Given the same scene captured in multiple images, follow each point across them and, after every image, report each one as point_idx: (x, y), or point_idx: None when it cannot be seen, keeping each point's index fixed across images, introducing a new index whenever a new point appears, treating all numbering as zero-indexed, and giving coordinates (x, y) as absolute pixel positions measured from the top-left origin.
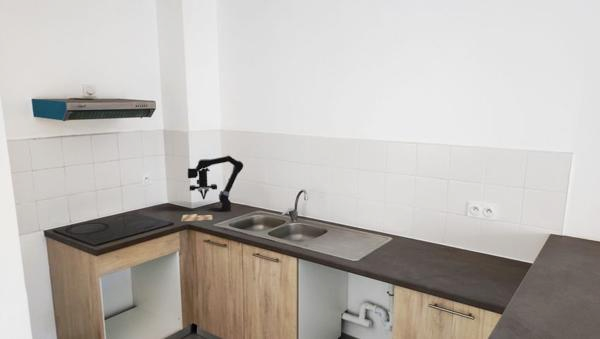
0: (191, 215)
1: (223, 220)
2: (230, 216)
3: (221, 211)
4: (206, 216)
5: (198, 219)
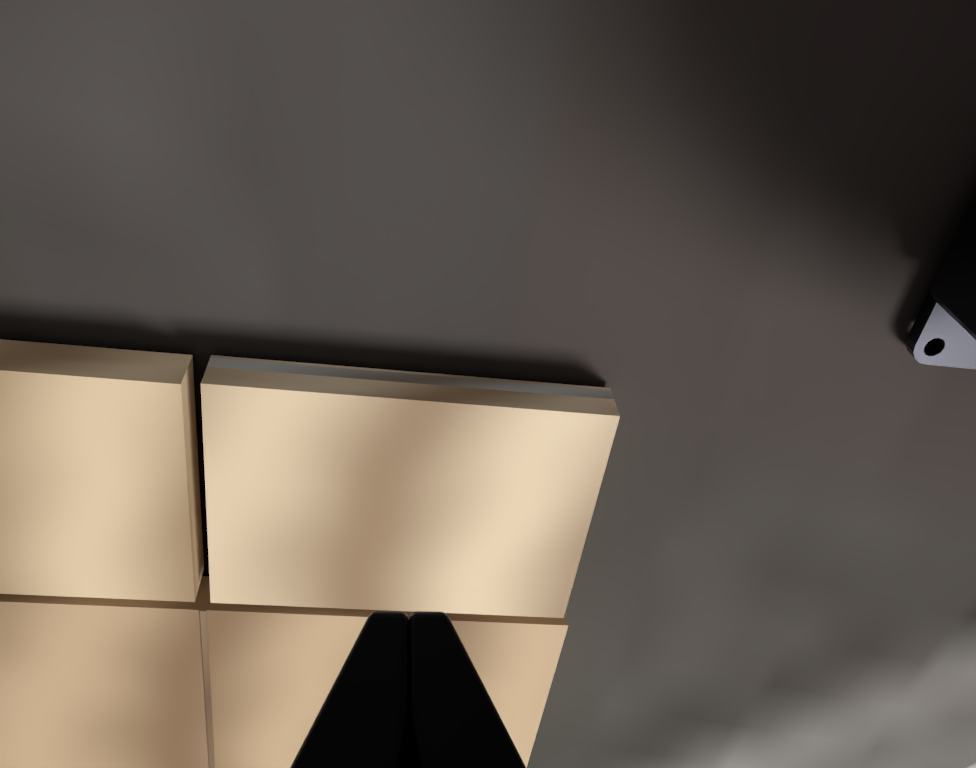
0: (12, 458)
1: (728, 730)
2: (971, 560)
3: (948, 311)
4: (433, 610)
5: (245, 744)
